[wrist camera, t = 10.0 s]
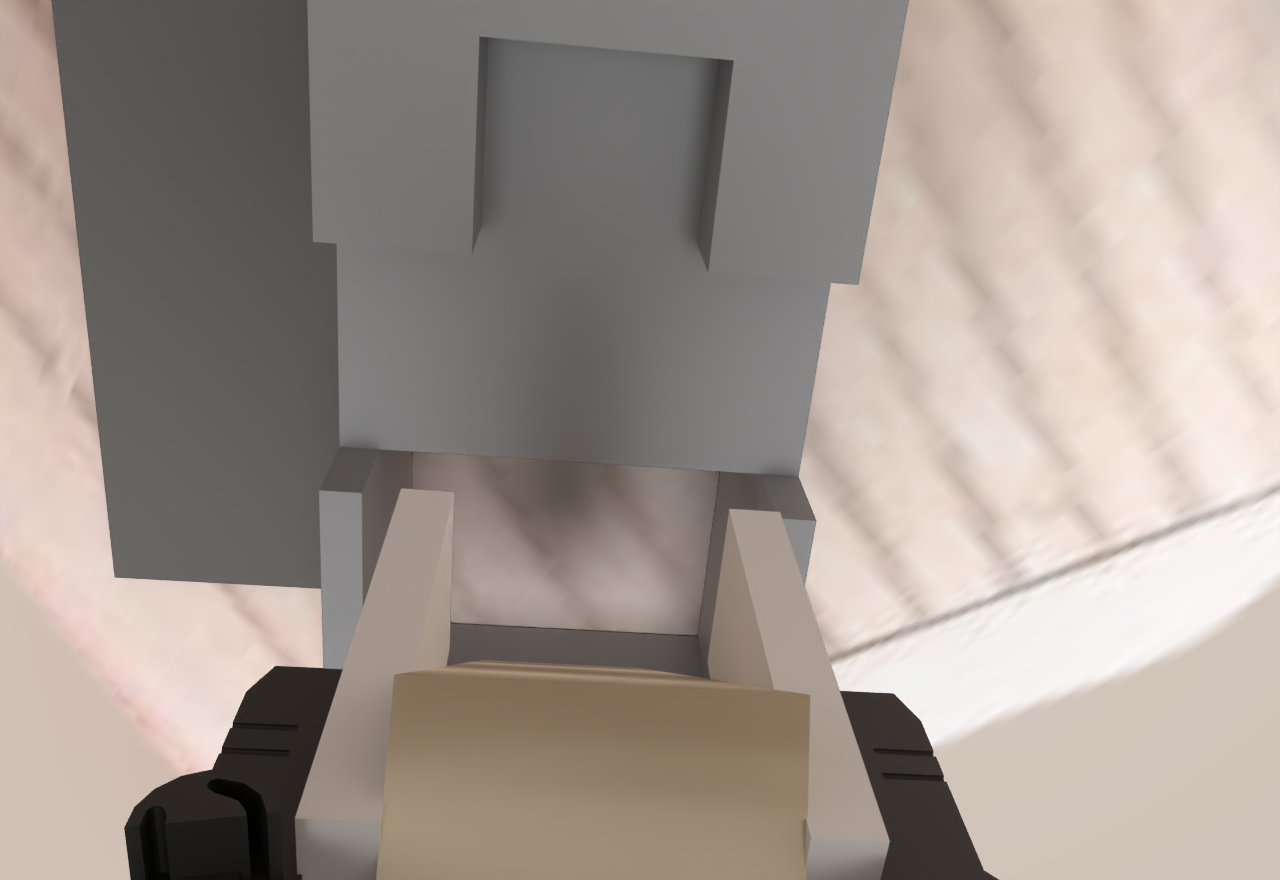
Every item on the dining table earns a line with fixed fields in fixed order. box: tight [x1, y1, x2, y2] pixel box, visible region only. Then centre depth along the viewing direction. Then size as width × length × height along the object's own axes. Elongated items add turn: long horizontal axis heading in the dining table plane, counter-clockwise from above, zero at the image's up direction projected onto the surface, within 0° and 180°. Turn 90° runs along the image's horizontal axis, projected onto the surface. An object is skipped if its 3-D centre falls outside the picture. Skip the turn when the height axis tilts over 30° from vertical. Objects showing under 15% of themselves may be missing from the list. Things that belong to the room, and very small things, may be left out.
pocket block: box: [307, 0, 909, 679], centre depth 31 cm, size 23×12×9 cm, turn 175°
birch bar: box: [376, 660, 810, 880], centre depth 19 cm, size 18×4×2 cm
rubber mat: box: [52, 0, 340, 589], centre depth 33 cm, size 20×8×1 cm, turn 175°
